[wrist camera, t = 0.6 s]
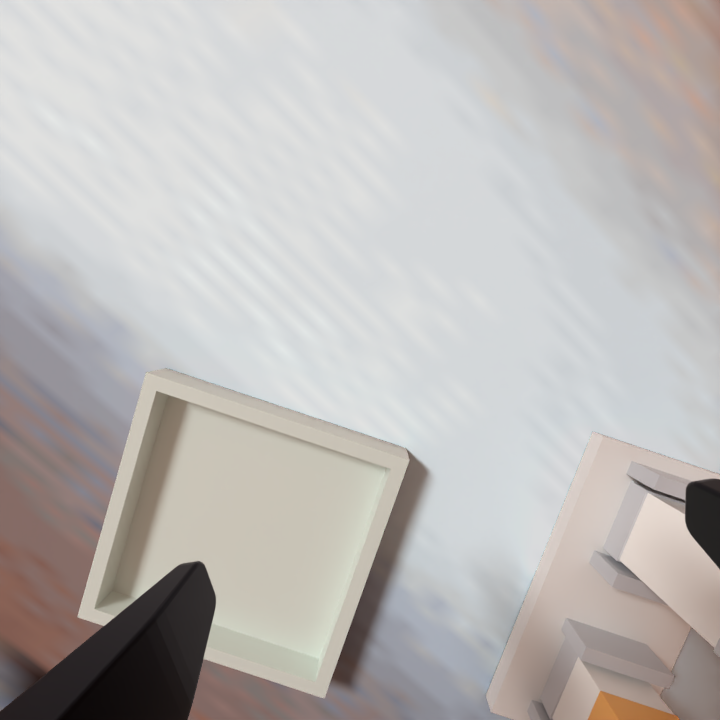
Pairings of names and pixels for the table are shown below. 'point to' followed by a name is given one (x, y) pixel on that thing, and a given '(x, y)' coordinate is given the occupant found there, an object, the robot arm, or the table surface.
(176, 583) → the robot arm
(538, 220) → the table surface
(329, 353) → the table surface
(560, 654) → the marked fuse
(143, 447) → the tray
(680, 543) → the plain fuse
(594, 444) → the block
